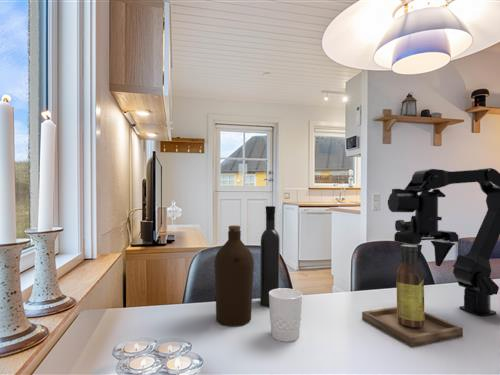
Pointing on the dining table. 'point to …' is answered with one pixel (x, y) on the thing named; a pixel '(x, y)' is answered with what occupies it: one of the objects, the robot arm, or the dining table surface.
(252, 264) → the olive oil
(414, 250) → the sauce bottle
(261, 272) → the wine bottle
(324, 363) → the dining table surface
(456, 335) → the walnut tray
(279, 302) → the white cup
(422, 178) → the robot arm
